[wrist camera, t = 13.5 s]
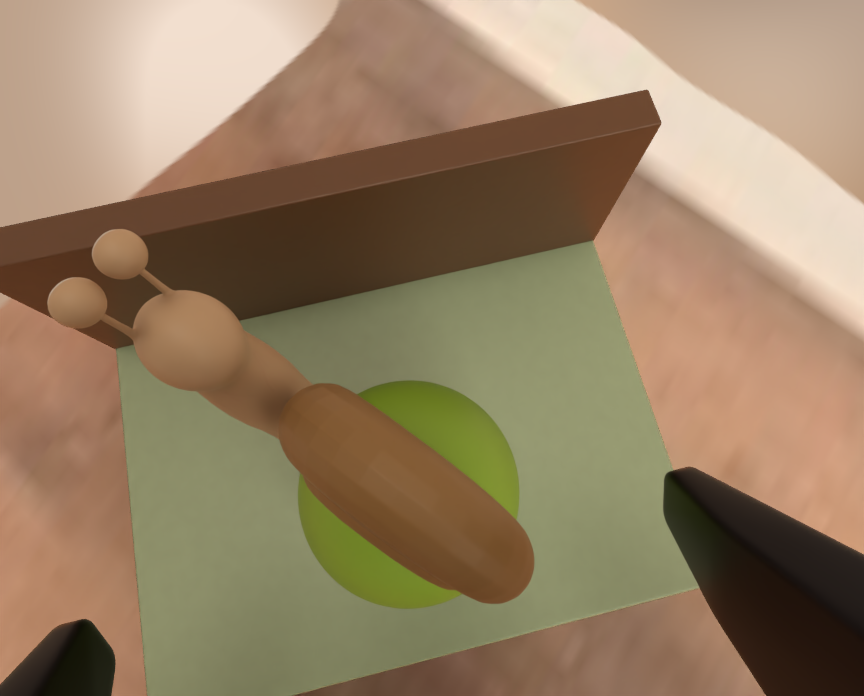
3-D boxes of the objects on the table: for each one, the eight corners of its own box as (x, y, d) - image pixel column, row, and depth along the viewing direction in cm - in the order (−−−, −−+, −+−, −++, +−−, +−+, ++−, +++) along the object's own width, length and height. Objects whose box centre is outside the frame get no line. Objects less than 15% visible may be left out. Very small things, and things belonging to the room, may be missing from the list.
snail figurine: (365, 351, 18) (232, 69, 6) (540, 466, 17) (761, 377, 5) (259, 498, 17) (-145, 481, 5) (439, 631, 16) (444, 980, 4)
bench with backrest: (660, 570, 20) (872, 629, 10) (207, 688, 19) (-31, 875, 9) (560, 263, 23) (648, 87, 13) (168, 353, 22) (-39, 234, 13)
